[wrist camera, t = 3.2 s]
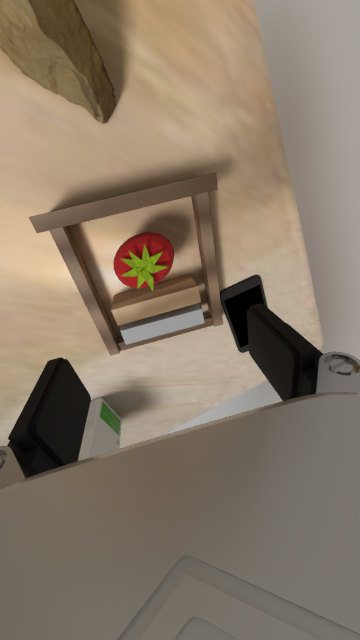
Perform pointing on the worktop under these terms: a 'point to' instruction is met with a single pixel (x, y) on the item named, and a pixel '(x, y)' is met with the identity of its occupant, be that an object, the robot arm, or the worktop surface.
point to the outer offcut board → (162, 323)
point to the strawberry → (144, 260)
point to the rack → (63, 218)
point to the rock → (57, 52)
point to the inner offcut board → (155, 300)
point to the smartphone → (241, 307)
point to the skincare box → (100, 430)
